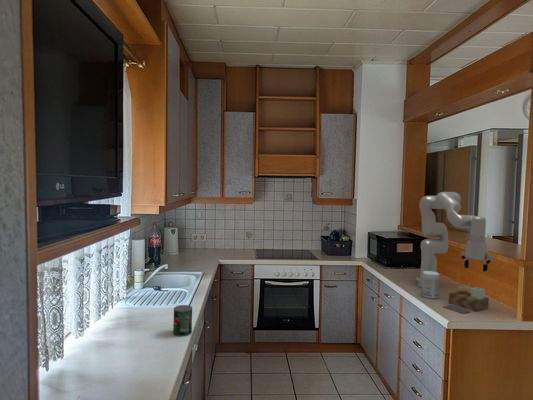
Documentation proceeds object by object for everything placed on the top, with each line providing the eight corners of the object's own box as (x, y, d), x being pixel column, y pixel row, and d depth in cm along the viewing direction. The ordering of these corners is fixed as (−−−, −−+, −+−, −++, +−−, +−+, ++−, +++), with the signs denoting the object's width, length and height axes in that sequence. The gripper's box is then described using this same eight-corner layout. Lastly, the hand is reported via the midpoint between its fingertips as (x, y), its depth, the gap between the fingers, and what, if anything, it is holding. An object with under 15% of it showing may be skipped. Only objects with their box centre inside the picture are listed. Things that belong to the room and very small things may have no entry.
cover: (470, 296, 220) (471, 286, 220) (475, 295, 223) (476, 285, 223) (479, 299, 216) (480, 289, 216) (484, 298, 219) (485, 287, 218)
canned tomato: (169, 333, 171) (169, 308, 170) (183, 327, 177) (184, 303, 177) (181, 338, 166) (181, 312, 166) (195, 332, 172) (196, 308, 172)
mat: (443, 307, 220) (443, 306, 220) (450, 305, 223) (450, 304, 223) (463, 314, 210) (463, 313, 210) (471, 312, 213) (471, 311, 213)
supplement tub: (433, 294, 244) (435, 270, 243) (441, 299, 235) (443, 274, 234) (418, 294, 244) (419, 270, 243) (425, 299, 234) (427, 274, 233)
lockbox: (448, 303, 228) (449, 292, 227) (460, 300, 234) (461, 290, 234) (476, 311, 214) (476, 300, 214) (488, 308, 221) (488, 297, 220)
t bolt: (457, 291, 231) (457, 285, 230) (463, 289, 234) (463, 284, 234) (469, 294, 225) (469, 289, 225) (474, 292, 228) (475, 287, 228)
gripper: (458, 237, 223) (456, 267, 224) (491, 241, 210) (489, 273, 211) (464, 236, 228) (462, 266, 229) (496, 240, 215) (495, 271, 215)
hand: (475, 269), depth 220 cm, fingers open, 9 cm apart
